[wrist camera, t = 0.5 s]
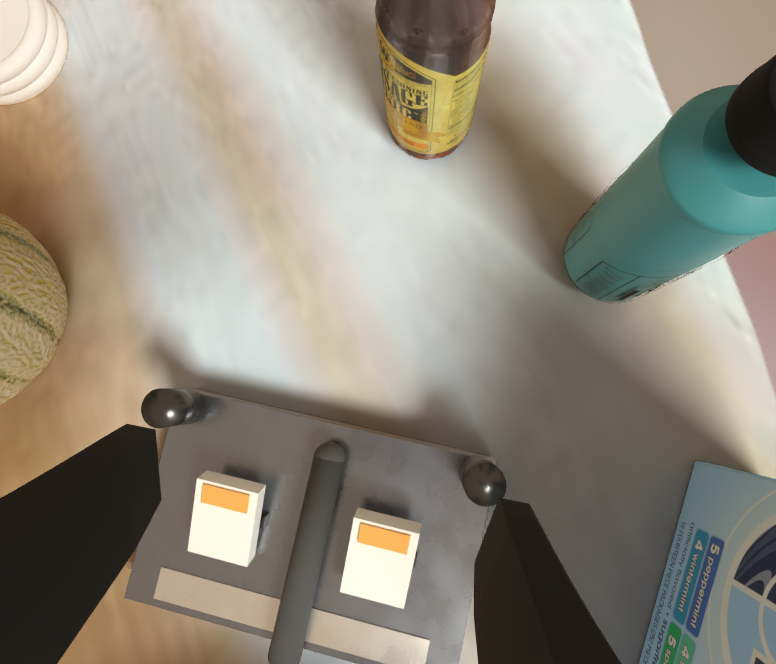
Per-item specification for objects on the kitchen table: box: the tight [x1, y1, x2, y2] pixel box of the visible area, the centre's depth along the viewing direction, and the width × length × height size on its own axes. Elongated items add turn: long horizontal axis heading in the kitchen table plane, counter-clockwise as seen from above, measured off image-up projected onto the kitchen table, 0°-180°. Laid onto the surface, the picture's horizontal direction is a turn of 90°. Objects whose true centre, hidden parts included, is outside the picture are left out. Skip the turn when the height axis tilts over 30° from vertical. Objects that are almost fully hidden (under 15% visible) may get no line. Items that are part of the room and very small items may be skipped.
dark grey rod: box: [268, 442, 345, 664], centre depth 30 cm, size 14×2×2 cm, turn 168°
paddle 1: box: [188, 470, 266, 567], centre depth 30 cm, size 5×4×1 cm
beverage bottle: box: [564, 55, 776, 303], centre depth 24 cm, size 6×7×20 cm
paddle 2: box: [340, 508, 421, 609], centre depth 29 cm, size 5×4×1 cm
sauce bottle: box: [375, 0, 496, 160], centre depth 26 cm, size 6×6×20 cm
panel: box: [124, 389, 506, 664], centre depth 30 cm, size 14×22×6 cm, turn 78°
